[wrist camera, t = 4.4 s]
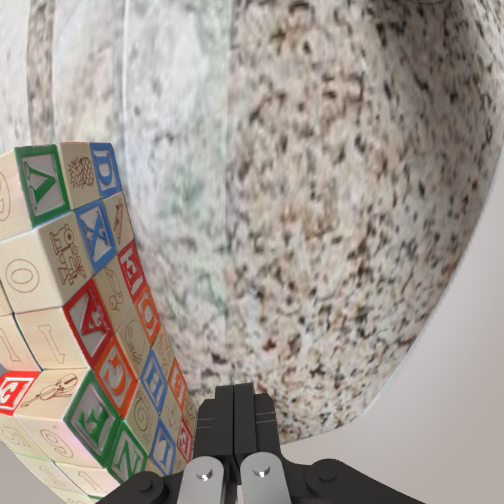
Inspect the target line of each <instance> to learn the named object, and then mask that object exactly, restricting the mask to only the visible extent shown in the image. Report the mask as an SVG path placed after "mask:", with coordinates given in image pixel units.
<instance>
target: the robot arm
mask: <svg viewBox="0 0 504 504" xmlns="http://www.w3.org/2000/svg"><path fill="white" fill-rule="evenodd" d="M412 1H416V2H421V3H435V2H439V1H441V0H412ZM237 485H242V489H243V496H244V504H425V503H423V502H420V501H418V500H416V499H414V498H411V497H409V496H407V495H405V494H403V493H401V492H398V491H396V490H394V489H392V488H390V487H388V486H386V485H384V484H382V483H380V482H378V481H376V480H374V479H372V478H370V477H368V476H366V475H364V474H363V473H361V472H359V471H357V470H355V469H353V468H352V467H350V466H348V465H346V464H345V463H343V462H341V461H339V460H336V459H322V460H319V461H317V462H315V463H313V464H312V465H301V464H295V463H292V462H290V461H288V460H287V459H285V458H284V457H283V455H282V454H281V450H280V442H279V435H278V428H277V421H276V414H275V408H274V401H273V400H272V398H271V397H270V396H269V395H268V393H262V394H255V390H254V385H253V382H251V383H243V384H235V386H234V385H225V386H216V389H215V399H205V400H204V402H203V403H202V405H201V406H200V408H199V411H198V421H197V429H196V435H195V444H194V453H193V459H192V461H190V462H189V463H188V464H187V465H186V467H185V469H184V470H183V471H181V472H178V473H175V474H171V475H167V476H163V477H160V476H159V475H158V474H157V473H155V472H151V471H141V472H138V473H136V474H134V475H133V476H131V477H130V478H129V479H128V480H126V481H125V482H124V483H122V484H121V485H120V486H118V487H117V488H116V489H114V490H113V491H112V492H110V493H109V494H107V495H106V496H105V497H103V498H102V499H101V500H99V501H98V502H96V503H95V504H238V499H237Z"/></svg>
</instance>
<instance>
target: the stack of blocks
mask: <svg viewBox="0 0 504 504" xmlns="http://www.w3.org/2000/svg"><path fill="white" fill-rule="evenodd" d="M133 238H134V234H133V231H132V227H131V223H130V220H129V216H128V212H127V208H126V204H125V200H124V196H123V193H122V191H121V185H120V180H119V176H118V171H117V167H116V163H115V158H114V153H113V148H112V145H111V143H94V142H89V143H87V142H63V143H57V144H47V145H34V146H23V147H15V148H13V149H11V150H9V151H7V152H6V153H4V154H2V155H0V363H1V364H2V365H3V367H4V368H5V369H7V372H5V373H4V374H2V376H1V377H0V438H1V439H2V440H3V442H4V443H5V444H6V445H7V446H8V447H9V448H10V449H11V450H12V451H13V452H14V453H15V454H16V456H17V457H18V458H19V459H20V460H21V462H22V463H23V464H24V465H25V466H26V467H27V468H28V469H29V470H30V471H31V472H32V473H33V474H35V476H36V477H37V478H39V479H40V480H41V481H42V482H43V483H45V484H46V485H47V486H48V487H49V488H50V489H51V490H52V491H53V492H55V493H56V494H57V495H58V496H59V497H61V498H62V499H63V500H64V501H65V502H67V503H68V504H95V503H96V502H98V501H99V500H101V499H102V498H103V497H105V496H106V495H107V494H109V493H110V492H112V491H113V490H114V489H116V488H117V487H118V486H120V485H121V484H122V483H124V482H125V481H126V480H128V479H129V478H130V477H131V476H133V475H134V474H136V473H138V472H141V471H151V472H155V473H157V474H158V475H159V476H160V477H163V476H167V475H171V474H175V473H178V472H181V471H183V470H184V469H185V467H186V465H187V464H188V463H189V462H190V461H191V452H192V441H193V438H192V437H193V436H194V434H195V423H196V409H195V406H194V404H193V402H192V399H191V397H190V395H189V392H188V390H187V385H186V383H185V380H184V378H183V375H182V373H181V370H180V368H179V365H178V363H177V360H176V358H175V355H174V352H173V349H172V347H171V344H170V341H169V339H168V336H167V333H166V331H165V328H164V325H163V323H162V322H161V321H160V319H159V315H158V313H157V310H156V308H155V304H154V301H153V298H152V296H151V293H150V289H149V286H148V284H147V283H146V280H145V277H144V273H143V270H142V267H141V263H140V260H139V257H138V254H137V250H136V247H135V243H134V241H133Z"/></svg>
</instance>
